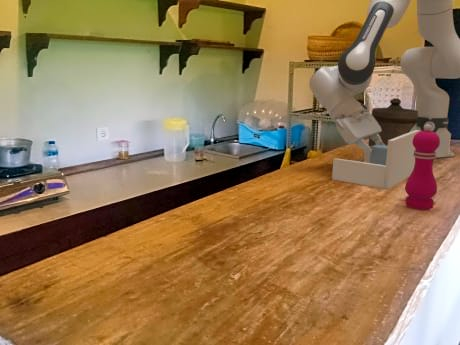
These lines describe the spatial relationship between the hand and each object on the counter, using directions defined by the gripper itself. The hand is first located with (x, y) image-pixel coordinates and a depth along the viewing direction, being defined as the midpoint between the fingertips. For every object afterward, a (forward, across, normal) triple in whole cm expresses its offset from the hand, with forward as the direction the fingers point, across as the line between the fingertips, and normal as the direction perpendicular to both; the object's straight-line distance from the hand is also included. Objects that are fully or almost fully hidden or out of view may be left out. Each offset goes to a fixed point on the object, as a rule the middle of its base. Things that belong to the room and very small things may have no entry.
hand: (376, 150), depth 139 cm
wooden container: (+3, +25, +9) cm, 27 cm away
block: (+6, 0, +4) cm, 8 cm away
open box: (+6, 0, +6) cm, 9 cm away
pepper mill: (+19, -19, -7) cm, 28 cm away
